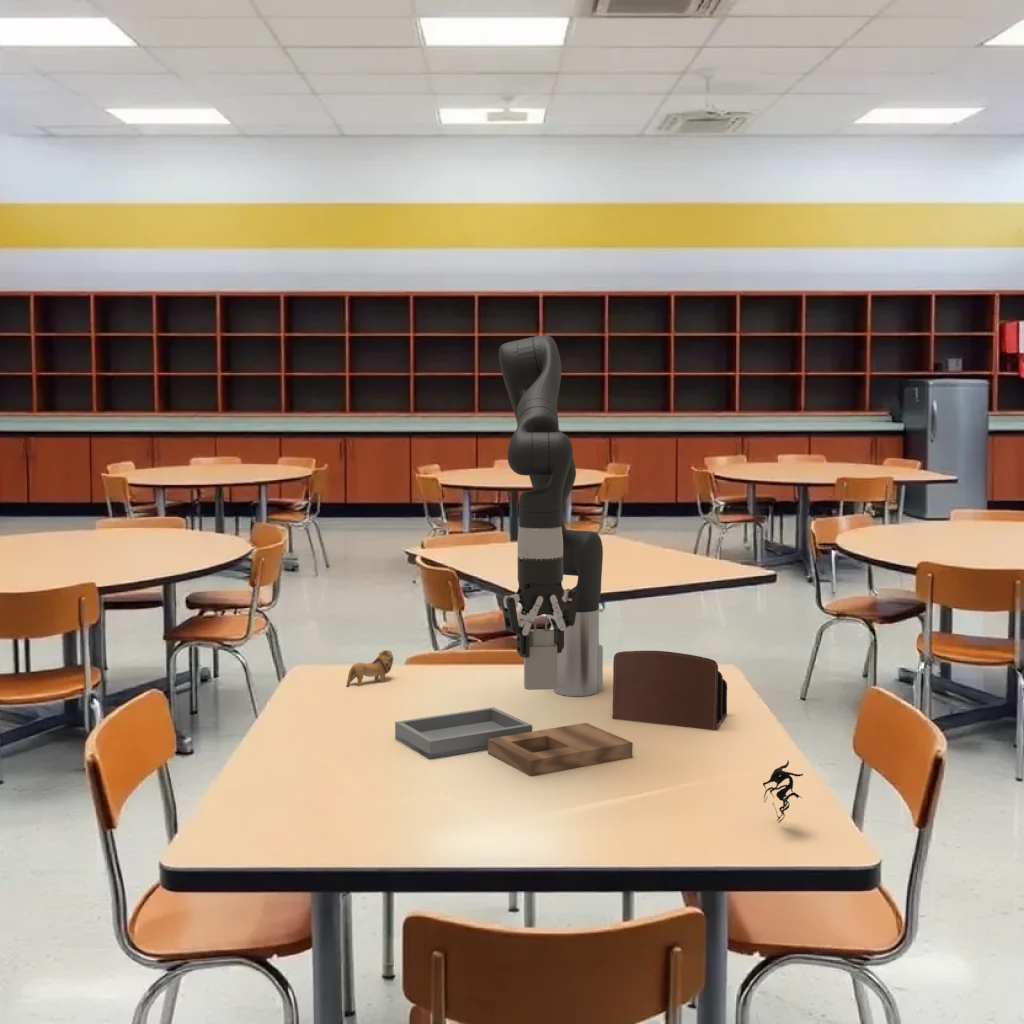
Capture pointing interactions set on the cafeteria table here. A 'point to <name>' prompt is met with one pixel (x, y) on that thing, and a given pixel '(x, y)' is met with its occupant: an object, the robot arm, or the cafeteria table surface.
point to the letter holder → (668, 689)
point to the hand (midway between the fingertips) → (540, 654)
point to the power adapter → (541, 660)
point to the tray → (457, 731)
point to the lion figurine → (372, 668)
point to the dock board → (559, 748)
